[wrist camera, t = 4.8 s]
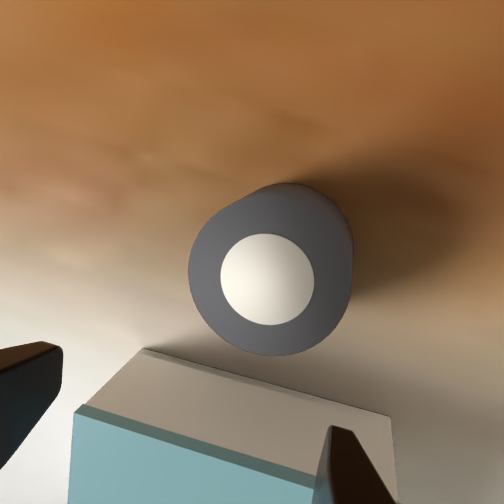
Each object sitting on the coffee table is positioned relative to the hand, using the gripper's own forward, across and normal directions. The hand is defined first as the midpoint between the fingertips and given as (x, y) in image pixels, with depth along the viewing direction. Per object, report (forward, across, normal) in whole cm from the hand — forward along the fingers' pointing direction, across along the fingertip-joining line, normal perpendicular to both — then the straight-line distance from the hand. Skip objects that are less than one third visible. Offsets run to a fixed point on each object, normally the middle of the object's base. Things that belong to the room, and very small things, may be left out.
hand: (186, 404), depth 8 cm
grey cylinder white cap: (+12, 0, 0) cm, 12 cm away
